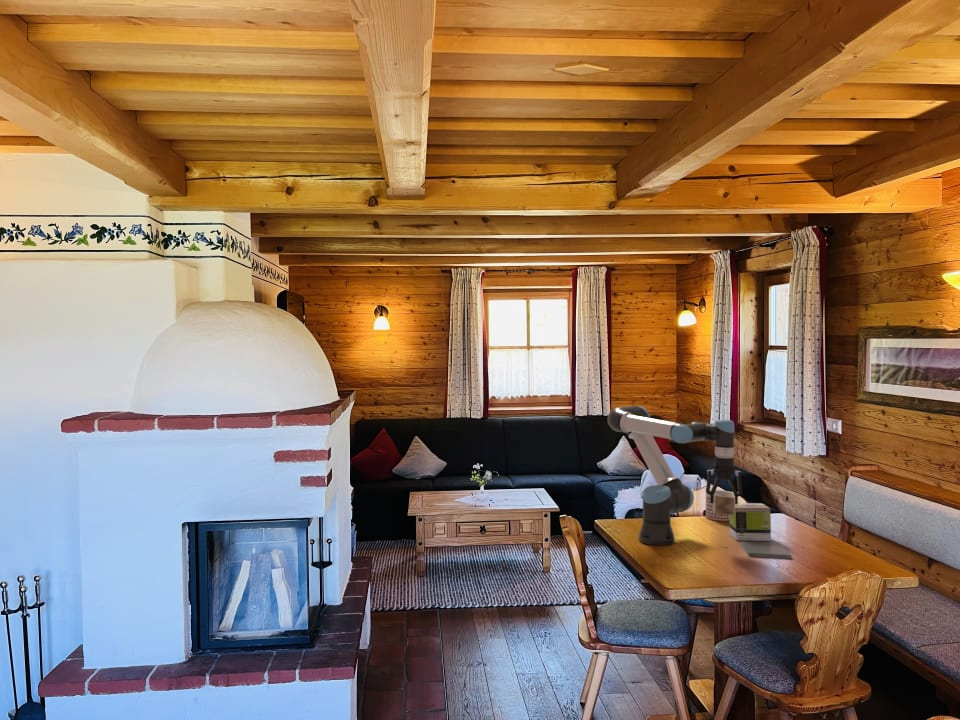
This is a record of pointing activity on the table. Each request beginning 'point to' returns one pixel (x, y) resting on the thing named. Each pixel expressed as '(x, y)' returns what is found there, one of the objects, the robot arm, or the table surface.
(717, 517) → the planter
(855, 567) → the table surface
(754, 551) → the slate board
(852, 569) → the table surface
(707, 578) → the table surface
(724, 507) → the walnut cube
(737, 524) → the tea box
